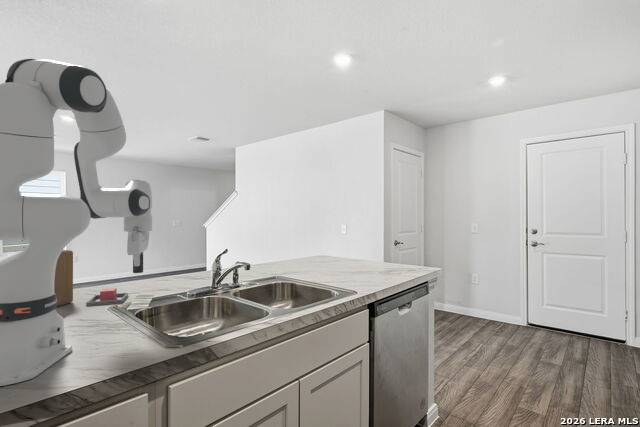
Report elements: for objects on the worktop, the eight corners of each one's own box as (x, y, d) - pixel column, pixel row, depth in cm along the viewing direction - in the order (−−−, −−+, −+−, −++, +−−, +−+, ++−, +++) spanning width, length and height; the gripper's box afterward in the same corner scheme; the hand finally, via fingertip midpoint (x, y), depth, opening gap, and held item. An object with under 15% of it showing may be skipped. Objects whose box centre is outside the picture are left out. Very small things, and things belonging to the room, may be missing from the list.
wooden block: (47, 310, 115) (47, 253, 115) (24, 308, 117) (24, 252, 117) (74, 302, 125) (74, 250, 125) (52, 300, 127) (52, 249, 127)
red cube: (113, 302, 124) (113, 290, 124) (100, 303, 122) (100, 291, 122) (116, 299, 128) (116, 288, 128) (103, 300, 126) (103, 289, 126)
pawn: (142, 272, 116) (142, 248, 116) (132, 273, 115) (132, 249, 115) (143, 271, 119) (143, 247, 119) (133, 271, 118) (133, 248, 118)
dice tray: (121, 305, 122) (122, 299, 122) (86, 308, 118) (86, 302, 118) (127, 297, 132) (127, 292, 132) (95, 300, 128) (95, 295, 128)
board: (148, 309, 116) (148, 307, 116) (125, 311, 114) (125, 309, 114) (155, 296, 135) (155, 294, 135) (135, 297, 133) (135, 295, 133)
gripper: (143, 227, 109) (143, 269, 108) (151, 225, 128) (151, 260, 128) (121, 227, 106) (121, 270, 106) (133, 225, 125) (133, 261, 125)
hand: (138, 265), depth 117 cm, fingers closed on pawn, 3 cm apart
